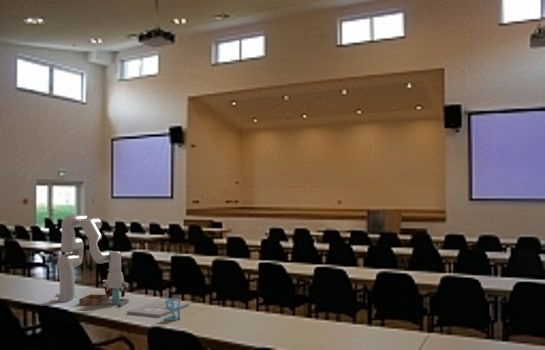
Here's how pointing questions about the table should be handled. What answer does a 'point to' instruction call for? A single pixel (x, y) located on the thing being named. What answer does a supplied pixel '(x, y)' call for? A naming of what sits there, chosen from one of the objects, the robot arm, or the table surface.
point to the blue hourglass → (173, 309)
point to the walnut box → (94, 299)
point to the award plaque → (155, 309)
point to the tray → (124, 301)
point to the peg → (115, 296)
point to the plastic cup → (110, 288)
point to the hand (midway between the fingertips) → (116, 296)
